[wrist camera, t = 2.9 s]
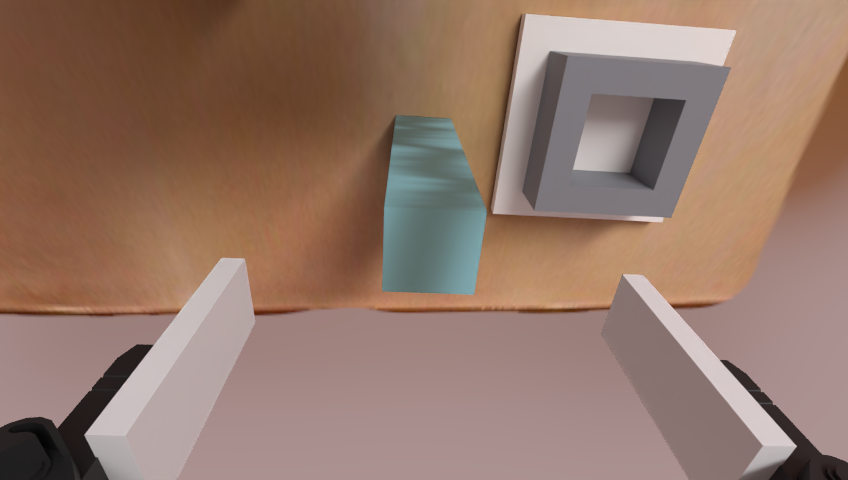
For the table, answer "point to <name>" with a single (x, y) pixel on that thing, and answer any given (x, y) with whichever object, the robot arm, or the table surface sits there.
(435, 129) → the peg
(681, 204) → the table surface
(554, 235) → the table surface
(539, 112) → the socket block
